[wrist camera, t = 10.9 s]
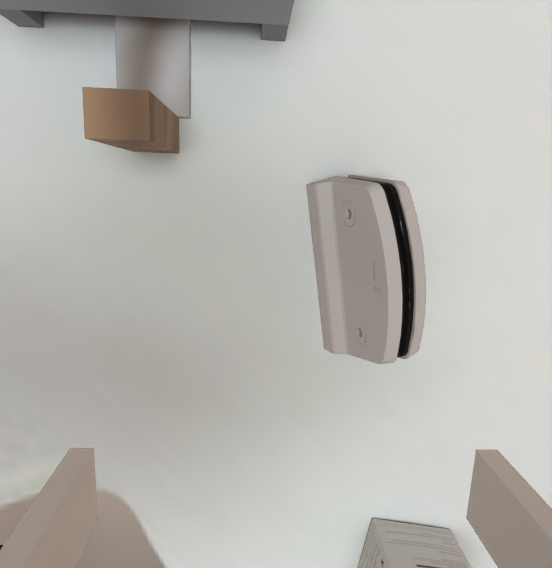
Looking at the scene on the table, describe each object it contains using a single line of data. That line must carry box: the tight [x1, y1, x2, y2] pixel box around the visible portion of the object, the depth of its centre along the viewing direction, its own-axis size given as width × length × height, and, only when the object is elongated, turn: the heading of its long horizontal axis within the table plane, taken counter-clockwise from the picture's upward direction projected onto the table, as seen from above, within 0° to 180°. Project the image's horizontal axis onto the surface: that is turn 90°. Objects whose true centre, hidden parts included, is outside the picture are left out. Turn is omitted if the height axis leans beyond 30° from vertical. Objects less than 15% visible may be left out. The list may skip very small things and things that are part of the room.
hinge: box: [306, 175, 426, 364], centre depth 40 cm, size 17×5×10 cm, turn 7°
